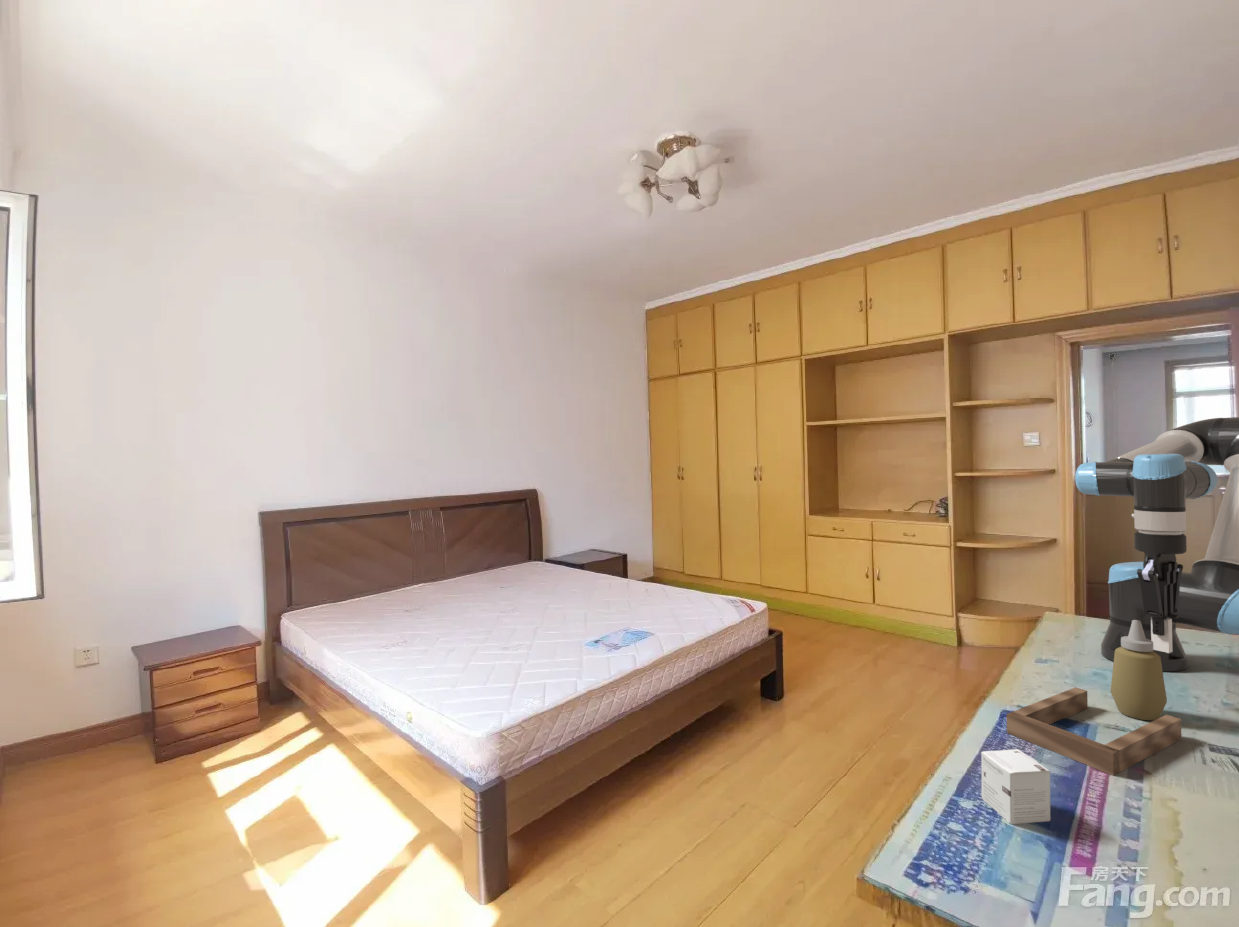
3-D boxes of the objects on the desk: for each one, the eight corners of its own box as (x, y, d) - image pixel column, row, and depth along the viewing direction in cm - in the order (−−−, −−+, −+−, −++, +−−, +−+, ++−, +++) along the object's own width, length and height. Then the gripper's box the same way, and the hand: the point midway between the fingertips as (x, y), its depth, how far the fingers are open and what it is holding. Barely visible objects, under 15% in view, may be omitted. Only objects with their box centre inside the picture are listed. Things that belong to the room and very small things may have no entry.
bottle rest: (1075, 704, 115) (1075, 687, 115) (1181, 738, 101) (1181, 718, 101) (1007, 732, 105) (1006, 713, 105) (1113, 775, 90) (1113, 753, 90)
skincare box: (980, 799, 86) (979, 750, 86) (1019, 796, 86) (1018, 747, 86) (1011, 825, 80) (1010, 772, 80) (1052, 822, 80) (1051, 769, 80)
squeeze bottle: (1179, 725, 105) (1177, 627, 105) (1128, 722, 107) (1125, 626, 107) (1148, 706, 113) (1146, 615, 113) (1101, 704, 115) (1099, 614, 115)
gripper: (1151, 527, 120) (1153, 639, 121) (1119, 532, 114) (1122, 650, 115) (1200, 530, 114) (1202, 649, 114) (1168, 536, 108) (1170, 662, 108)
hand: (1161, 650), depth 114 cm, fingers closed
